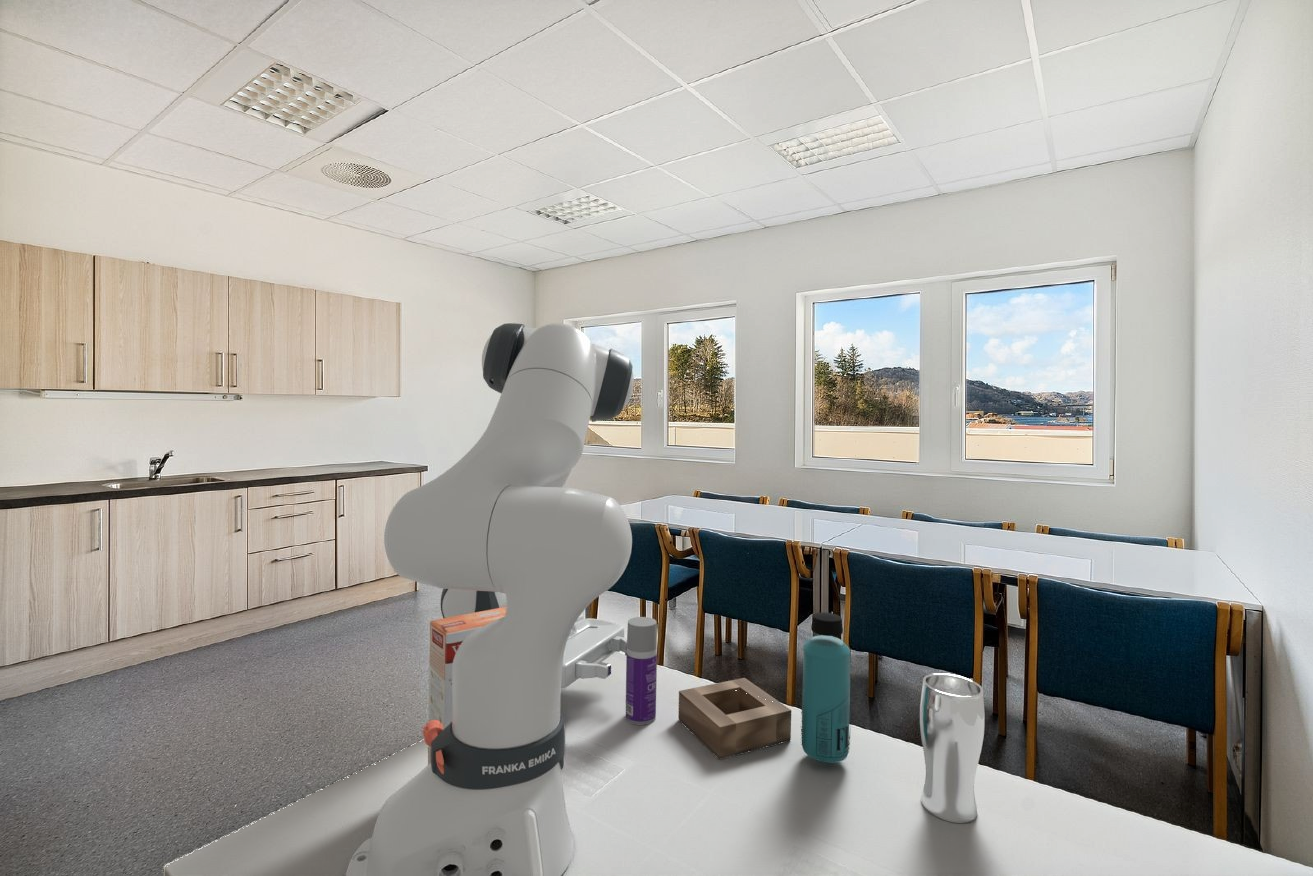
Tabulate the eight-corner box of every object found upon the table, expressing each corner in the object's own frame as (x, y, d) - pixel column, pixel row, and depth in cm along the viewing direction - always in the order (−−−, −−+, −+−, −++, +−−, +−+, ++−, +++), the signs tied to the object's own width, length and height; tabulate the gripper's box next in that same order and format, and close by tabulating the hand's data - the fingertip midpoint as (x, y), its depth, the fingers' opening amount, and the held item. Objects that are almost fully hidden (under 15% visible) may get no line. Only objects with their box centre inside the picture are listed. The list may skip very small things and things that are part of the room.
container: (652, 726, 92) (654, 627, 91) (622, 723, 93) (623, 625, 92) (658, 712, 96) (660, 618, 96) (629, 708, 97) (631, 615, 97)
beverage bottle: (839, 780, 79) (843, 627, 78) (791, 762, 83) (794, 616, 82) (856, 758, 84) (860, 614, 83) (810, 742, 88) (814, 604, 87)
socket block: (719, 759, 83) (720, 727, 83) (678, 719, 94) (678, 691, 94) (790, 741, 88) (791, 710, 88) (744, 705, 99) (744, 677, 99)
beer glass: (920, 819, 71) (924, 692, 71) (914, 785, 78) (917, 669, 78) (987, 831, 69) (991, 701, 69) (974, 795, 76) (978, 676, 76)
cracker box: (444, 808, 72) (444, 632, 71) (426, 784, 77) (426, 619, 76) (549, 767, 81) (551, 610, 80) (527, 747, 86) (529, 599, 85)
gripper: (509, 647, 91) (589, 664, 86) (581, 610, 110) (650, 621, 104) (509, 689, 92) (589, 708, 86) (580, 644, 110) (650, 658, 105)
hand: (623, 660), depth 95 cm, fingers open, 8 cm apart
